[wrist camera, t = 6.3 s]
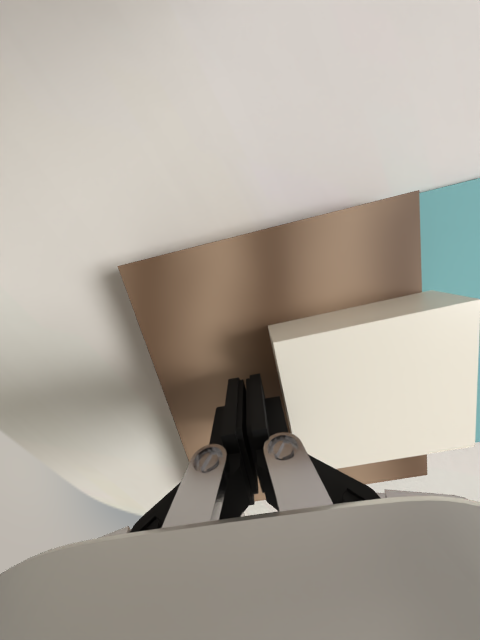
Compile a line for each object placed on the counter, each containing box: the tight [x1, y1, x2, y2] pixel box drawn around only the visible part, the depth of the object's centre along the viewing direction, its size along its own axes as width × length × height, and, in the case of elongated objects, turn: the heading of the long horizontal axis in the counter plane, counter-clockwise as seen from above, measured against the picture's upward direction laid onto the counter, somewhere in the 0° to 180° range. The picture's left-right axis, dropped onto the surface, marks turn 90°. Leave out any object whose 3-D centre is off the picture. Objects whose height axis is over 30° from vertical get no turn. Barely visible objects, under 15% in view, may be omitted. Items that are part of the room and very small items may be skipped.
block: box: [268, 290, 480, 469], centre depth 11 cm, size 8×7×2 cm
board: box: [118, 190, 427, 501], centre depth 14 cm, size 14×16×2 cm
